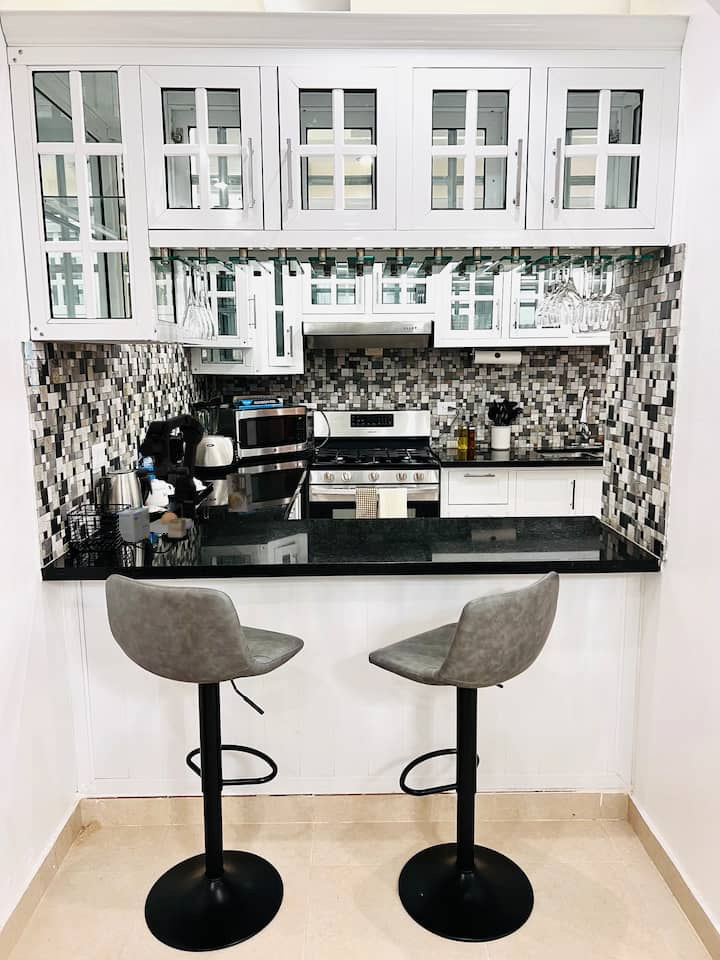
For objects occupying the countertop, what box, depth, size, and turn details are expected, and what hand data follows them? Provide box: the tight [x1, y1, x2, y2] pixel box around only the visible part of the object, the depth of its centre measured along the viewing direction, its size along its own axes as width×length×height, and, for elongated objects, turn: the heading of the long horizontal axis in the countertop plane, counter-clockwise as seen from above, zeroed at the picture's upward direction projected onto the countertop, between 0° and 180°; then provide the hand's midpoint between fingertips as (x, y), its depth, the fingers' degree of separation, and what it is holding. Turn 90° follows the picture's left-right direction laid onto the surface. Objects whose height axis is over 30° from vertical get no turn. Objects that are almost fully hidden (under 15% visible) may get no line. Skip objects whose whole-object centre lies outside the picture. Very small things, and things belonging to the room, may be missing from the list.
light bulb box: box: [116, 507, 151, 544], centre depth 252 cm, size 11×7×11 cm, turn 166°
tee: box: [167, 517, 187, 538], centre depth 257 cm, size 5×5×6 cm
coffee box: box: [226, 472, 254, 513], centre depth 305 cm, size 9×6×16 cm
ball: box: [160, 512, 178, 525], centre depth 268 cm, size 6×6×6 cm
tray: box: [150, 518, 193, 533], centre depth 268 cm, size 12×12×3 cm
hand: (164, 494), depth 272 cm, fingers open, 9 cm apart
